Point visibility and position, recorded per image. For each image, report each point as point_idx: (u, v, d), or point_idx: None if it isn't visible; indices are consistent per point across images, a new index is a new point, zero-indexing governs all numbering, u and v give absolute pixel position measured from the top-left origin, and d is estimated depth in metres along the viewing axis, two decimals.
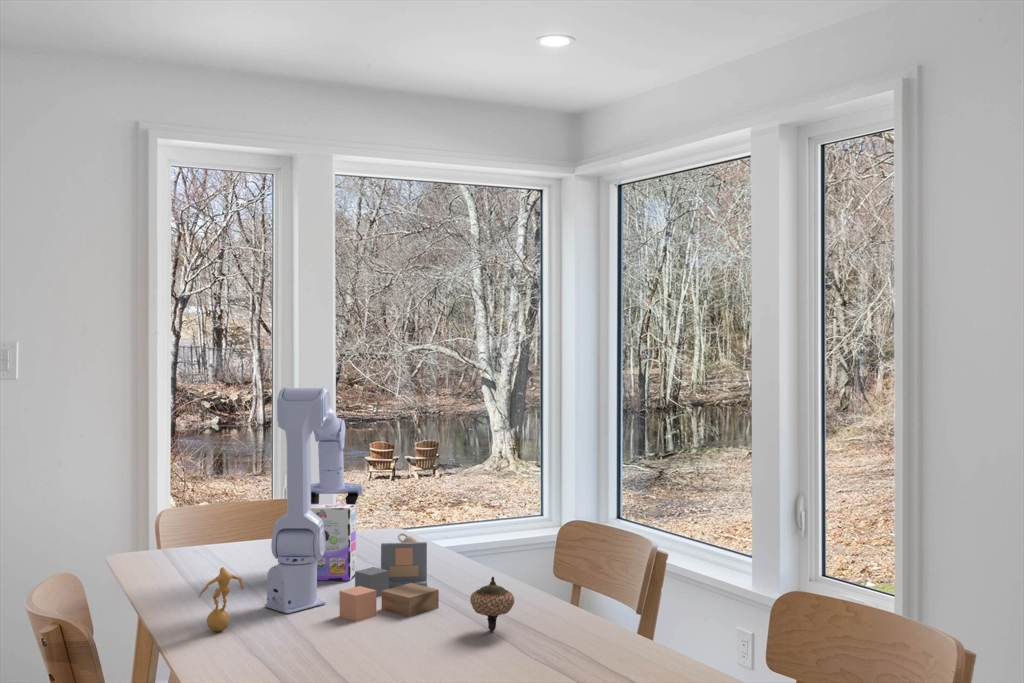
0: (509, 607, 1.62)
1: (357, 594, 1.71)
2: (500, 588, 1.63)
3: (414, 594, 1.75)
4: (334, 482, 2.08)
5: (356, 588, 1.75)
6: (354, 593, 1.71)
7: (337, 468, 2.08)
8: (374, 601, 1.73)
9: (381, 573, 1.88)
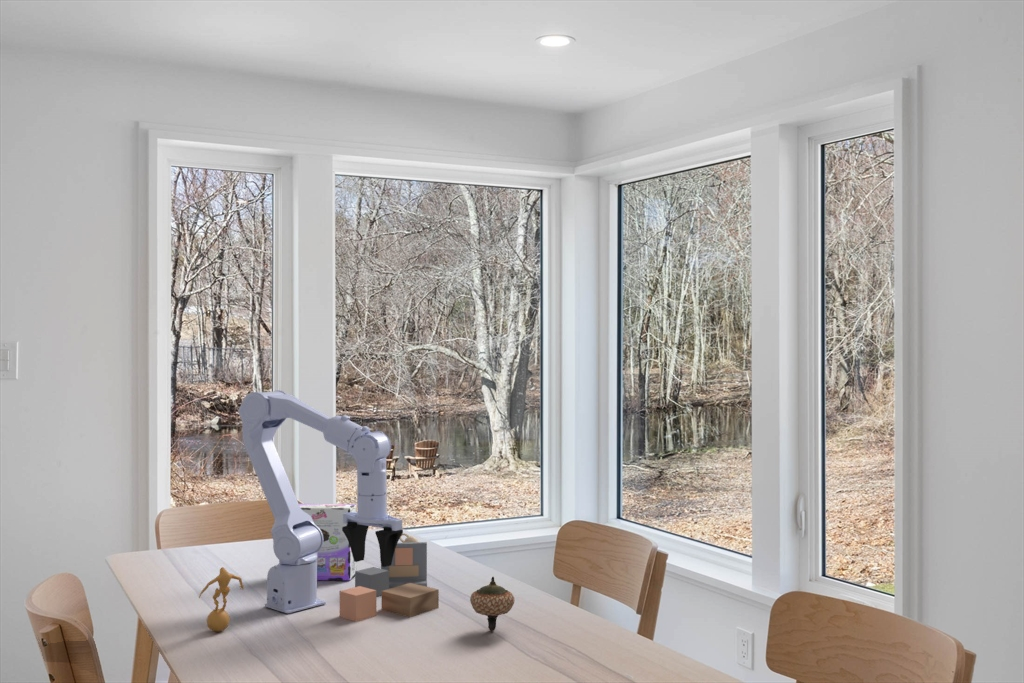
0: (509, 607, 1.62)
1: (357, 594, 1.71)
2: (500, 588, 1.63)
3: (415, 594, 1.75)
4: (366, 510, 1.73)
5: (356, 588, 1.75)
6: (354, 593, 1.71)
7: (357, 492, 1.74)
8: (374, 601, 1.73)
9: (381, 573, 1.88)
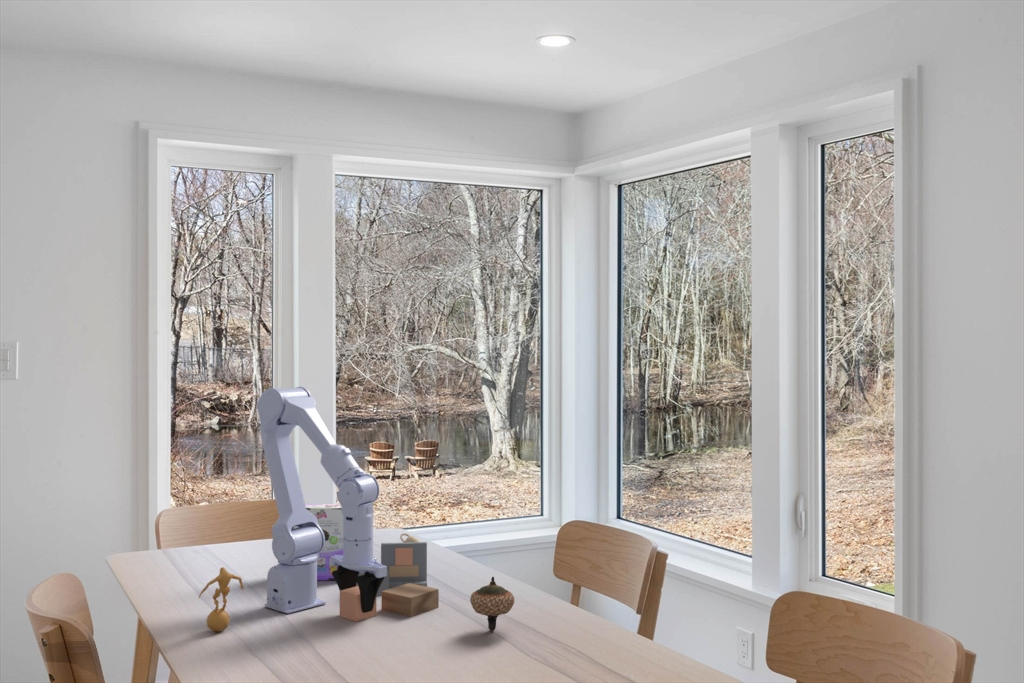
0: (509, 607, 1.62)
1: (357, 593, 1.71)
2: (500, 588, 1.63)
3: (415, 594, 1.75)
4: (351, 555, 1.70)
5: (356, 587, 1.75)
6: (354, 592, 1.71)
7: (343, 536, 1.73)
8: None
9: None
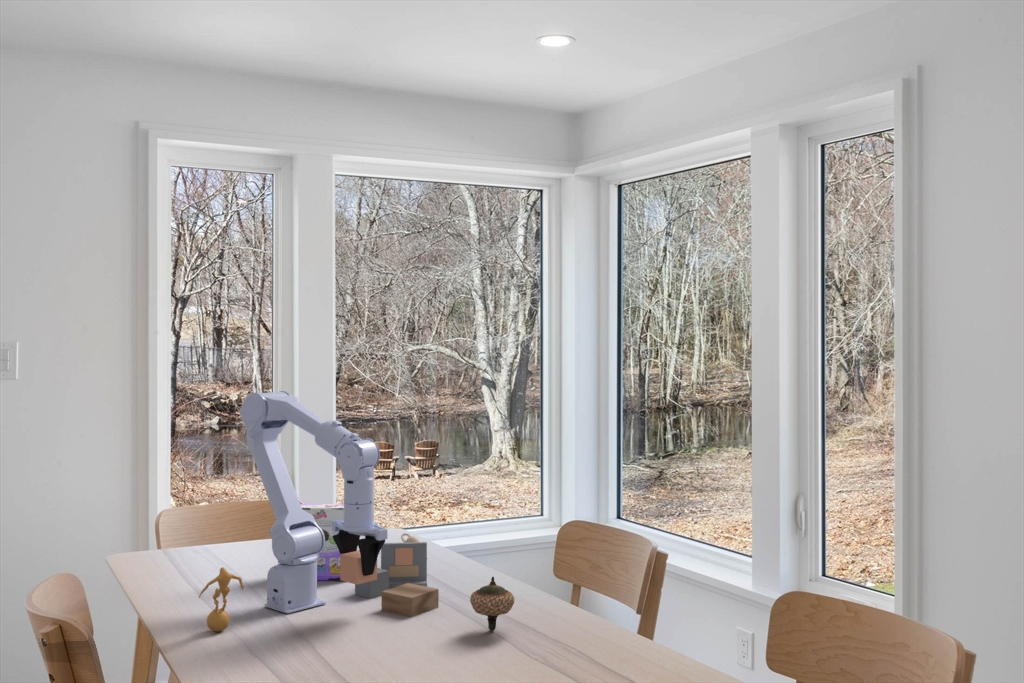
0: (509, 607, 1.62)
1: (358, 557, 1.71)
2: (500, 588, 1.63)
3: (416, 594, 1.75)
4: (352, 519, 1.71)
5: (357, 552, 1.75)
6: (355, 556, 1.71)
7: (344, 500, 1.73)
8: (375, 565, 1.73)
9: (381, 573, 1.88)
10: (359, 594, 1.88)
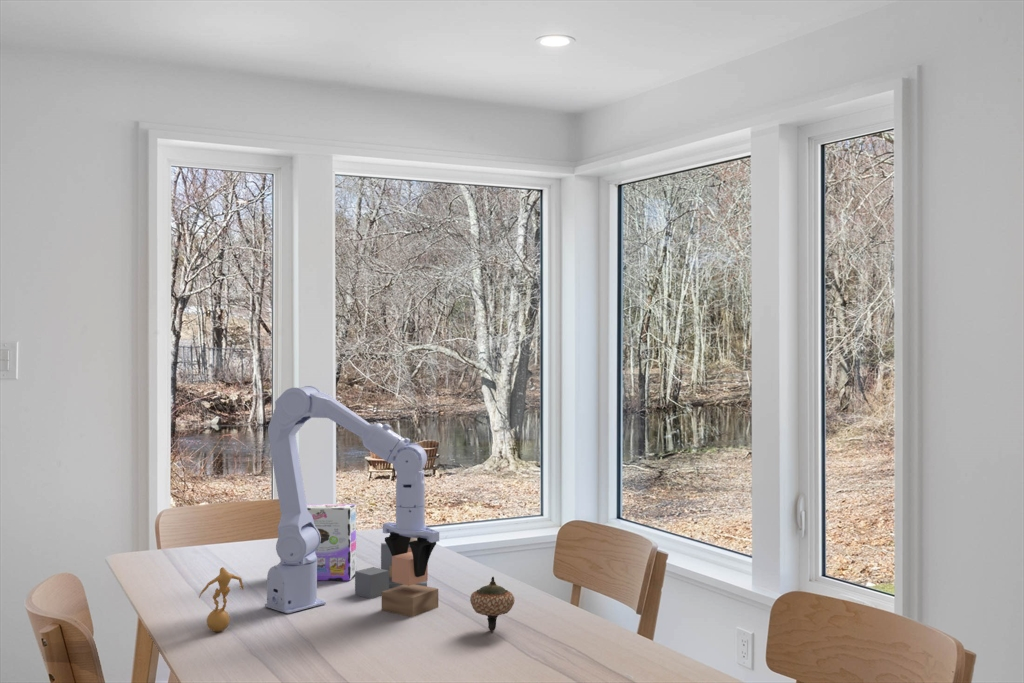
0: (509, 607, 1.62)
1: (410, 559, 1.75)
2: (500, 588, 1.63)
3: (416, 594, 1.75)
4: (404, 521, 1.76)
5: (407, 554, 1.80)
6: (406, 558, 1.76)
7: (397, 504, 1.77)
8: None
9: (381, 573, 1.88)
10: (359, 594, 1.88)
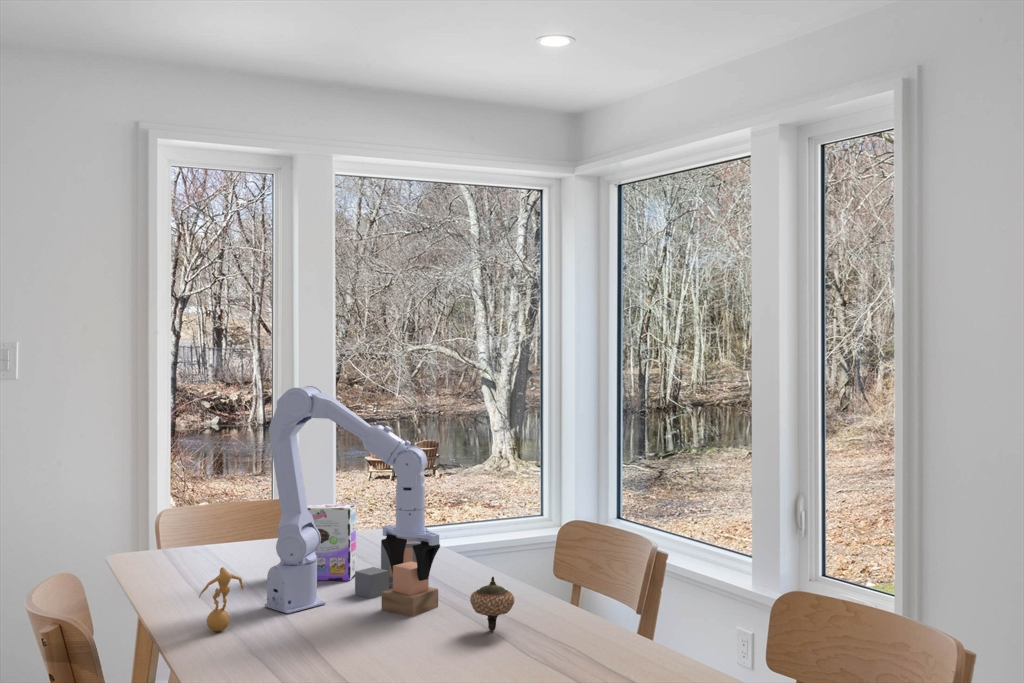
0: (509, 607, 1.62)
1: (411, 568, 1.75)
2: (500, 588, 1.63)
3: (416, 594, 1.75)
4: (404, 524, 1.75)
5: (408, 563, 1.80)
6: (408, 567, 1.76)
7: (397, 507, 1.77)
8: None
9: (381, 573, 1.88)
10: (359, 594, 1.88)
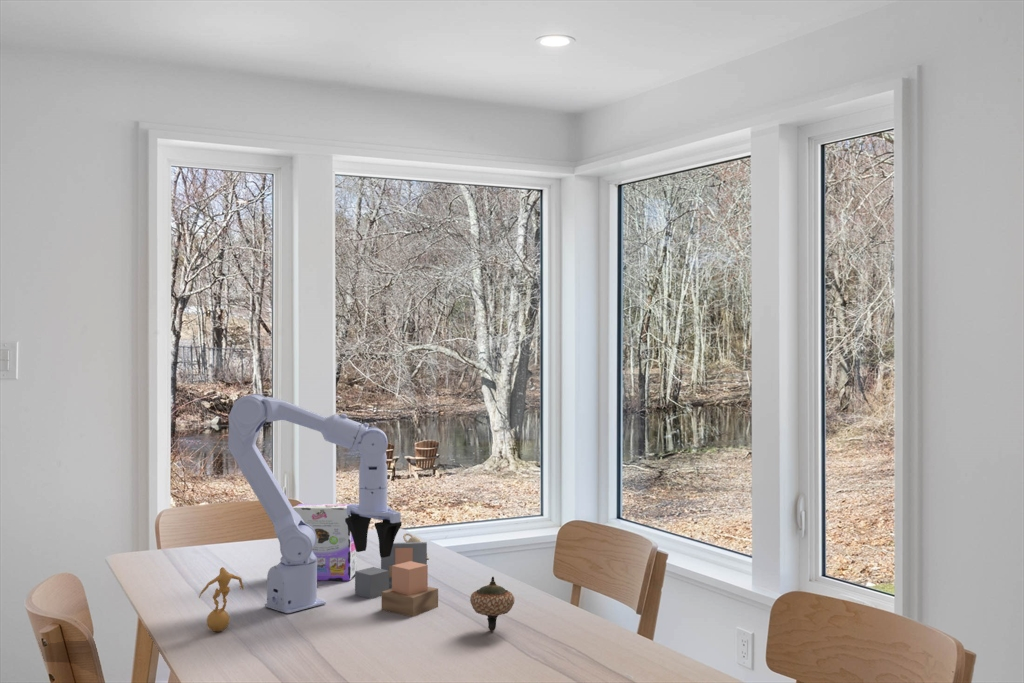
0: (509, 607, 1.62)
1: (410, 568, 1.75)
2: (500, 588, 1.63)
3: (416, 594, 1.75)
4: (367, 502, 1.80)
5: (407, 563, 1.80)
6: (406, 567, 1.76)
7: (362, 486, 1.81)
8: (426, 576, 1.78)
9: (381, 573, 1.88)
10: (359, 594, 1.88)
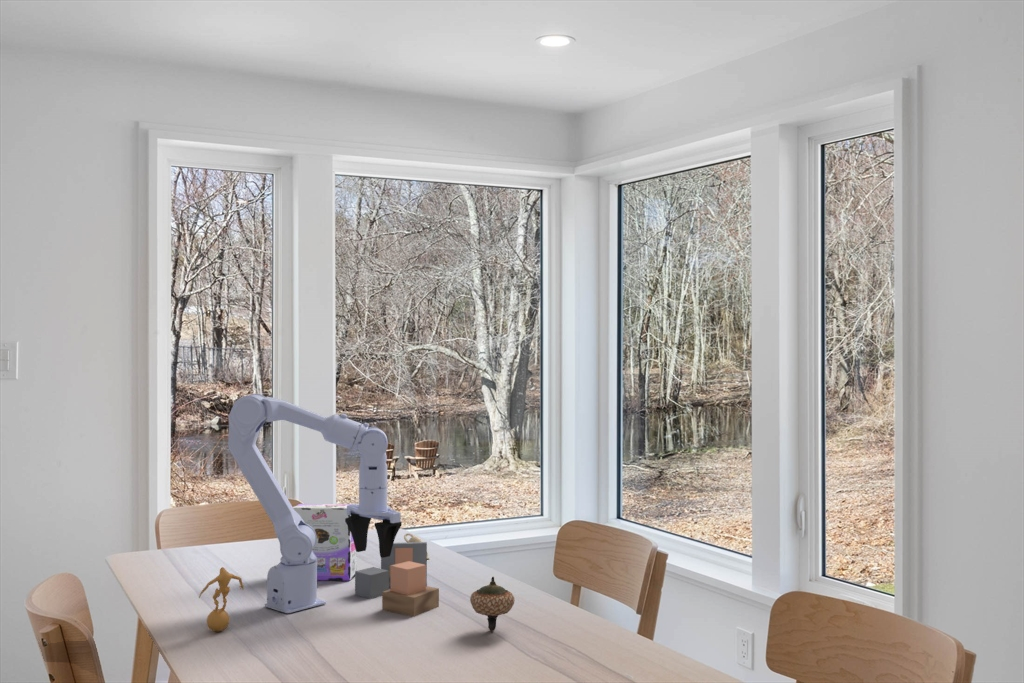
0: (509, 607, 1.62)
1: (408, 568, 1.76)
2: (500, 588, 1.63)
3: (417, 594, 1.75)
4: (367, 502, 1.80)
5: (406, 563, 1.80)
6: (405, 567, 1.76)
7: (362, 486, 1.81)
8: (424, 575, 1.78)
9: (381, 573, 1.88)
10: (359, 594, 1.88)
